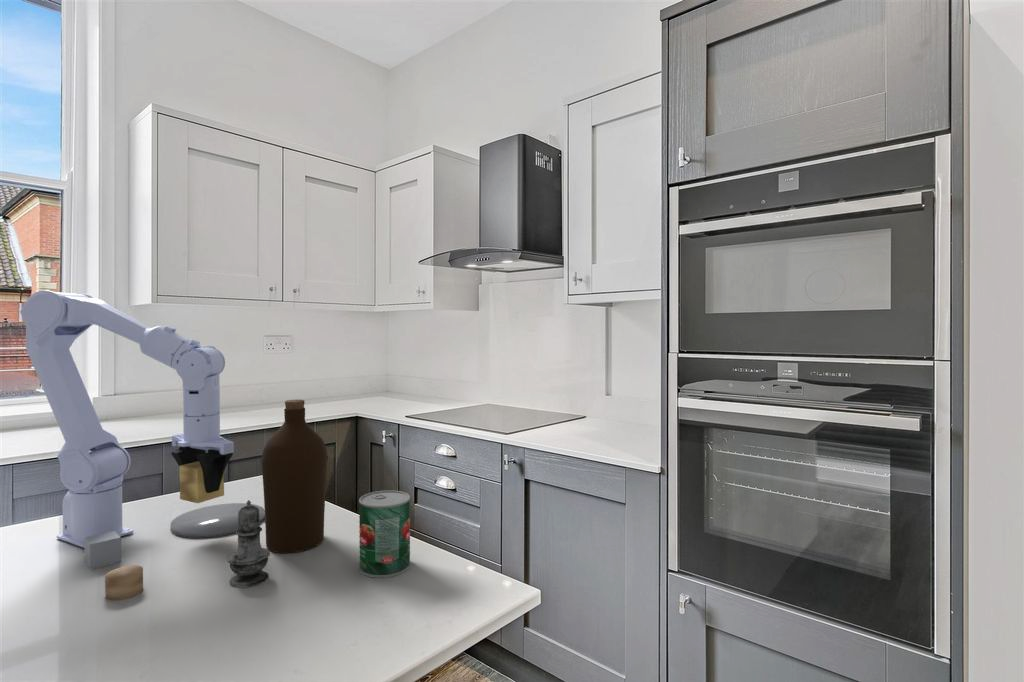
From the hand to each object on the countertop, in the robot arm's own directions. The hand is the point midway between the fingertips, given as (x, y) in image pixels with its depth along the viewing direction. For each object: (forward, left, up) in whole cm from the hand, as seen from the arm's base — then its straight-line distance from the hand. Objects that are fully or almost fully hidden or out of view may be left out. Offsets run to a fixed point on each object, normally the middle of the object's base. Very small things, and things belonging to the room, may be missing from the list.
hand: (202, 489), depth 98 cm
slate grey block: (-4, -14, -8) cm, 17 cm away
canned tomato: (+37, +6, -9) cm, 39 cm away
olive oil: (+17, +6, -9) cm, 20 cm away
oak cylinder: (+10, -18, -8) cm, 23 cm away
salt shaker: (+22, -7, -9) cm, 25 cm away
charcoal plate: (-4, +6, -8) cm, 11 cm away
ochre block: (0, 0, -1) cm, 1 cm away
